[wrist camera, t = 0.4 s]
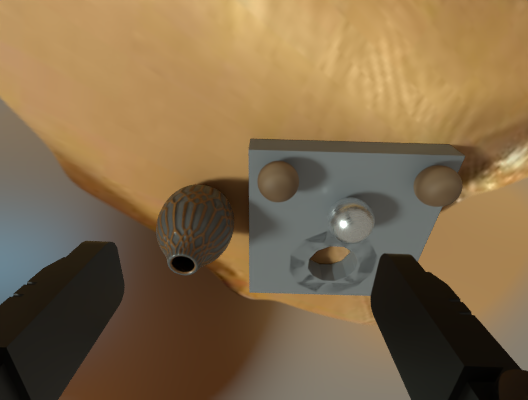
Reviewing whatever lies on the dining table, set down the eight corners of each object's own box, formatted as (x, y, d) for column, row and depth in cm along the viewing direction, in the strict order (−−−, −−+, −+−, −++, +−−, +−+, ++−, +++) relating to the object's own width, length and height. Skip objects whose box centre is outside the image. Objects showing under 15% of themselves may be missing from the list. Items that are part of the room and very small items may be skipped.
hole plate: (250, 138, 25) (248, 149, 23) (449, 144, 25) (465, 155, 23) (250, 275, 35) (249, 292, 33) (393, 279, 35) (401, 296, 33)
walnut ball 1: (258, 153, 23) (256, 172, 20) (298, 154, 23) (303, 173, 20) (257, 188, 25) (256, 210, 22) (295, 189, 25) (298, 211, 22)
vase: (250, 199, 29) (244, 261, 22) (213, 238, 32) (196, 304, 25) (193, 160, 27) (165, 215, 19) (158, 206, 30) (122, 268, 22)
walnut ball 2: (413, 157, 23) (433, 177, 21) (454, 158, 23) (480, 178, 21) (401, 192, 25) (418, 214, 22) (439, 193, 25) (461, 215, 22)
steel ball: (326, 188, 25) (335, 214, 22) (371, 189, 25) (387, 216, 22) (320, 223, 27) (328, 252, 24) (361, 224, 27) (374, 253, 24)
